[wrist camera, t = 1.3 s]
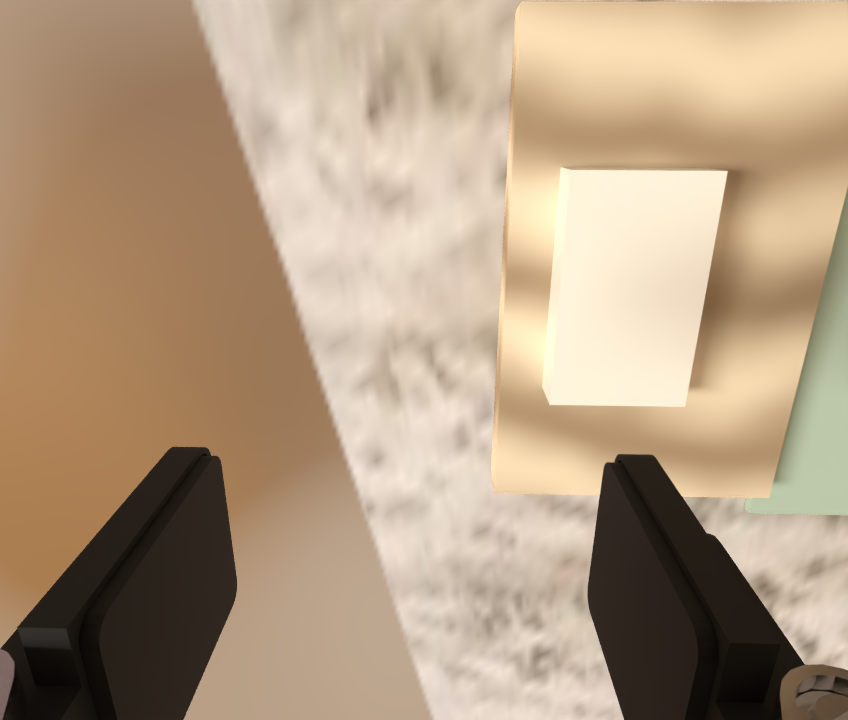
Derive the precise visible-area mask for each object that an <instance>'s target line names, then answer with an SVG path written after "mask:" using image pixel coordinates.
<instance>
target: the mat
mask: <svg viewBox="0 0 848 720" xmlns="http://www.w3.org/2000/svg"><path fill="white" fill-rule="evenodd" d="M744 508H745V509H746V511H747V512H748V513H758V514H815V515H848V188H847V192H846V196H845V200H844V204H843V208H842V212H841V216H840V220H839V223H838V227H837V231H836V235H835V239H834V243H833V247H832V251H831V255H830V259H829V263H828V267H827V271H826V275H825V279H824V283H823V287H822V291H821V295H820V299H819V303H818V307H817V311H816V314H815V318H814V322H813V326H812V330H811V334H810V338H809V342H808V346H807V350H806V354H805V358H804V362H803V366H802V370H801V374H800V378H799V382H798V386H797V390H796V394H795V398H794V401H793V405H792V409H791V413H790V417H789V421H788V425H787V429H786V433H785V437H784V441H783V445H782V449H781V453H780V457H779V461H778V465H777V469H776V473H775V477H774V481H773V485H772V488H771V492H770V496H769V498H747V499H746V503H745V507H744Z"/></svg>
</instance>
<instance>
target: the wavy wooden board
mask: <svg viewBox="0 0 848 720" xmlns="http://www.w3.org/2000/svg"><path fill="white" fill-rule="evenodd" d="M561 167H626V168H709V169H717V170H724V171H728V173H727V178H726V184H725V189H724V195H723V200H722V206H721V211H720V217H719V222H718V228H717V234H716V239H715V245H714V250H713V256H712V261H711V267H710V272H709V278H708V283H707V289H706V294H705V300H704V305H703V311H702V316H701V322H700V327H699V333H698V338H697V344H696V350H695V355H694V361H693V366H692V372H691V377H690V383H689V388H688V394H687V399H686V405H685V407H659V406H590V405H549V402H548V400H547V397H546V395H545V393H544V390H543V388H542V383H543V371H544V360H545V348H546V336H547V324H548V312H549V300H550V288H551V276H552V264H553V253H554V241H555V229H556V217H557V205H558V193H559V181H560V169H561ZM847 188H848V2H591V1H522V2H521V4H520V5H519V7H518V8H517V10H516V12H515V31H514V49H513V68H512V87H511V106H510V124H509V143H508V162H507V181H506V200H505V218H504V237H503V256H502V275H501V293H500V312H499V331H498V350H497V369H496V387H495V406H494V425H493V444H492V462H491V476H492V482H493V489H494V493H507V494H565V495H600V491H601V483H602V476H603V469H604V466H605V463H607V462H614V461H615V458H616V456H617V455H618V454H650V455H654V456H655V457H656V459H657V460H658V462H659V463H660V465H661V466H662V468H663V469H664V471H665V472H666V474H667V475H668V477H669V478H670V480H671V481H672V483H673V484H674V485H675V487H676V488H677V490H678V491H679V493H680V494H681V496H682V497H739V498H769V496H770V492H771V488H772V485H773V481H774V477H775V473H776V469H777V465H778V461H779V457H780V453H781V449H782V445H783V441H784V437H785V433H786V429H787V425H788V421H789V417H790V413H791V409H792V405H793V401H794V398H795V394H796V390H797V386H798V382H799V378H800V374H801V370H802V366H803V362H804V358H805V354H806V350H807V346H808V342H809V338H810V334H811V330H812V326H813V322H814V318H815V314H816V311H817V307H818V303H819V299H820V295H821V291H822V287H823V283H824V279H825V275H826V271H827V267H828V263H829V259H830V255H831V251H832V247H833V243H834V239H835V235H836V231H837V227H838V223H839V220H840V216H841V212H842V208H843V204H844V200H845V196H846V192H847Z"/></svg>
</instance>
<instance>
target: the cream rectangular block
mask: <svg viewBox="0 0 848 720" xmlns="http://www.w3.org/2000/svg"><path fill="white" fill-rule="evenodd" d="M727 173H728V171H724V170H717V169H709V168H626V167H561V169H560V181H559V193H558V205H557V217H556V229H555V241H554V253H553V264H552V276H551V288H550V300H549V312H548V324H547V336H546V348H545V360H544V371H543V383H542V388H543V390H544V393H545V395H546V397H547V400H548V402H549V405H590V406H659V407H685V405H686V399H687V394H688V388H689V383H690V377H691V372H692V366H693V361H694V355H695V350H696V344H697V338H698V333H699V327H700V322H701V316H702V311H703V305H704V300H705V294H706V289H707V283H708V278H709V272H710V267H711V261H712V256H713V250H714V245H715V239H716V234H717V228H718V222H719V217H720V211H721V206H722V200H723V195H724V189H725V184H726V178H727Z"/></svg>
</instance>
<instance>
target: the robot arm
mask: <svg viewBox="0 0 848 720" xmlns="http://www.w3.org/2000/svg"><path fill="white" fill-rule="evenodd" d="M236 592H237V577H236V570H235V562H234V555H233V548H232V540H231V532H230V525H229V518H228V510H227V503H226V496H225V488H224V481H223V474H222V466H221V461H220V459H219V457H217V456H211V454H210V452H209V449H207V448H206V447H172V448H170V449H169V450H168V451H167V452H166V453H165V455H164V456H163V457H162V458H161V459H160V460H159V462H158V463H157V464H156V465H155V466H154V467H153V469H152V470H151V471H150V472H149V474H148V475H147V476H146V477H145V478H144V479H143V481H142V482H141V483H140V484H139V485H138V486H137V488H136V489H135V490H134V491H133V492H132V493H131V495H130V496H129V497H128V498H127V499H126V501H125V502H124V503H123V504H122V505H121V506H120V507H119V509H118V510H117V511H116V512H115V513H114V514H113V516H112V517H111V518H110V519H109V520H108V521H107V523H106V524H105V525H104V526H103V527H102V529H101V530H100V531H99V532H98V533H97V534H96V536H95V537H94V538H93V539H92V540H91V541H90V543H89V544H88V545H87V546H86V547H85V549H84V550H83V551H82V552H81V553H80V554H79V556H78V557H77V558H76V559H75V560H74V561H73V563H72V564H71V565H70V566H69V567H68V568H67V570H66V571H65V572H64V573H63V574H62V576H61V577H60V578H59V579H58V580H57V581H56V583H55V584H54V585H53V586H52V587H51V588H50V590H49V591H48V592H47V593H46V594H45V595H44V597H43V598H42V599H41V600H40V602H39V603H38V604H37V605H36V606H35V607H34V609H33V610H32V611H31V612H30V613H29V614H28V615H27V617H26V618H25V619H24V620H23V621H22V622H21V624H20V625H19V626H18V627H17V628H18V629H17V630H16V631H15V632H14V633H13V635H12V636H11V637H10V638H9V639H8V640H7V642H6V643H5V644H4V645H3V646H2V647H1V649H0V720H183V719H184V717H185V715H186V712H187V710H188V708H189V705H190V703H191V701H192V699H193V696H194V694H195V692H196V689H197V687H198V685H199V682H200V680H201V678H202V676H203V673H204V671H205V668H206V666H207V664H208V662H209V659H210V657H211V655H212V652H213V650H214V648H215V646H216V643H217V641H218V638H219V636H220V634H221V632H222V629H223V627H224V625H225V623H226V620H227V618H228V616H229V613H230V611H231V609H232V606H233V604H234V601H235V597H236ZM588 604H589V609H590V613H591V616H592V620H593V623H594V626H595V629H596V632H597V635H598V638H599V642H600V645H601V648H602V651H603V654H604V657H605V660H606V664H607V667H608V670H609V673H610V676H611V679H612V682H613V686H614V689H615V692H616V695H617V698H618V701H619V704H620V708H621V711H622V714H623V717H624V720H848V670H845V669H842V668H837V667H832V666H827V665H823V664H820V665H805V664H804V663H803V661H802V660H801V658H800V657H799V656H798V654H797V653H796V651H795V650H794V648H793V647H792V645H791V644H790V643H789V641H788V640H787V638H786V637H785V635H784V634H783V632H782V631H781V629H780V628H779V627H778V625H777V624H776V622H775V621H774V619H773V618H772V616H771V615H770V614H769V612H768V611H767V609H766V608H765V606H764V605H763V603H762V602H761V601H760V599H759V598H758V596H757V595H756V593H755V592H754V590H753V589H752V587H751V586H750V585H749V583H748V582H747V580H746V579H745V577H744V576H743V574H742V573H741V572H740V570H739V569H738V567H737V566H736V564H735V563H734V561H733V560H732V559H731V557H730V556H729V554H728V553H727V551H726V550H725V548H724V547H723V545H722V544H721V543H720V541H719V540H718V539H717V538H716V537H715V536H713V535H711V534H707V533H706V532H705V530H704V529H703V527H702V526H701V524H700V523H699V521H698V520H697V518H696V517H695V515H694V514H693V512H692V511H691V509H690V508H689V506H688V505H687V503H686V502H685V500H684V499H683V497H682V496H681V494H680V493H679V491H678V490H677V488H676V487H675V485H674V484H673V483H672V481H671V480H670V478H669V477H668V475H667V474H666V472H665V471H664V469H663V468H662V466H661V465H660V463H659V462H658V460H657V459H656V457H655V456H654V455H650V454H618V455H617V456H616V458H615V461H614V462H607V463H605V466H604V469H603V476H602V483H601V491H600V498H599V506H598V514H597V521H596V529H595V536H594V544H593V552H592V559H591V567H590V575H589V582H588Z"/></svg>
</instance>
